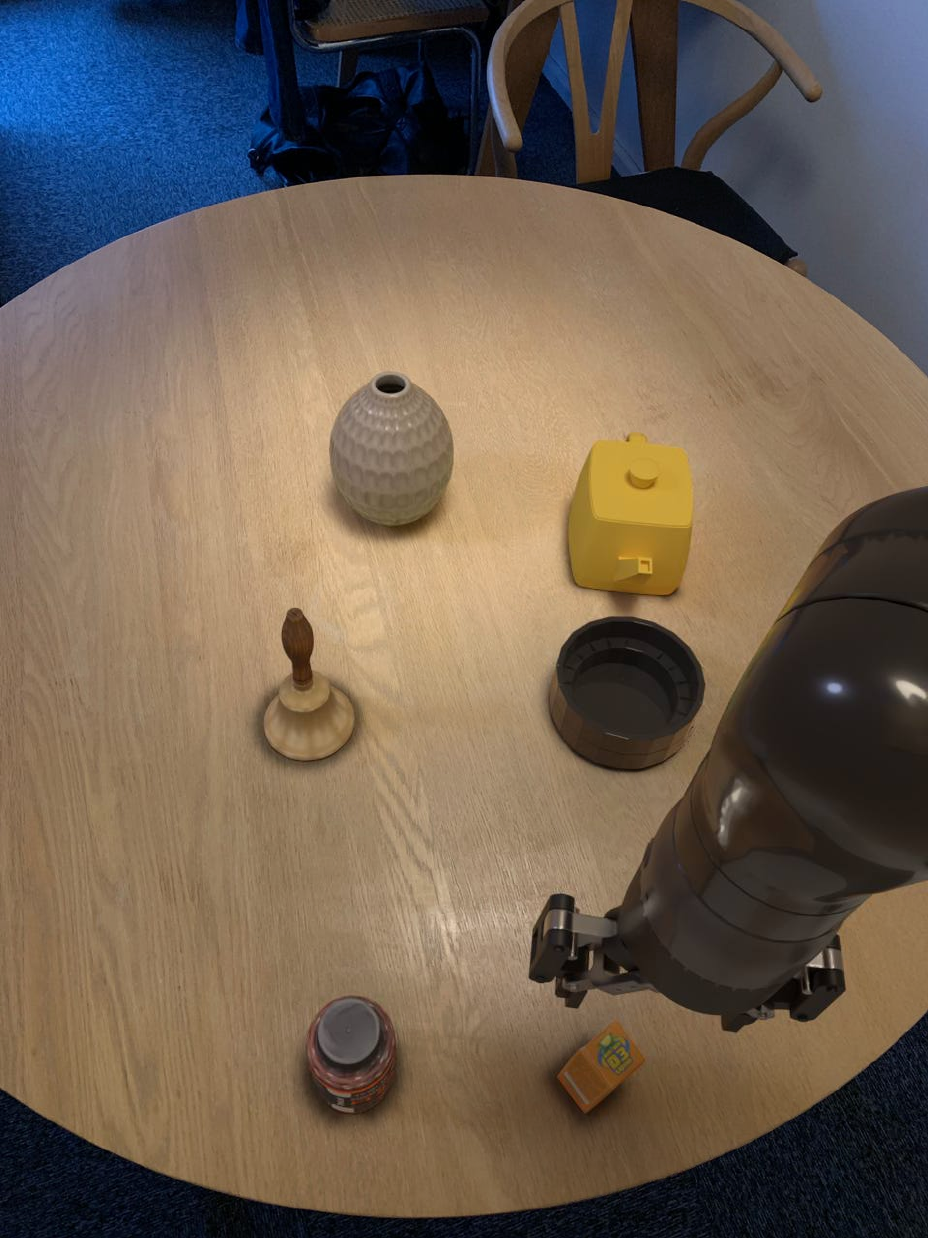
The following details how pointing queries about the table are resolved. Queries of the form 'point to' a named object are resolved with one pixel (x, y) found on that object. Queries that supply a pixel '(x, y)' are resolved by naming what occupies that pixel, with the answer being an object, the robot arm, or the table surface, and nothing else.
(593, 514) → the teapot
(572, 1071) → the supplement box
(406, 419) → the vase
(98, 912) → the table surface
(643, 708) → the bowl
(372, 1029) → the supplement bottle
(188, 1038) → the table surface
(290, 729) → the hand bell
